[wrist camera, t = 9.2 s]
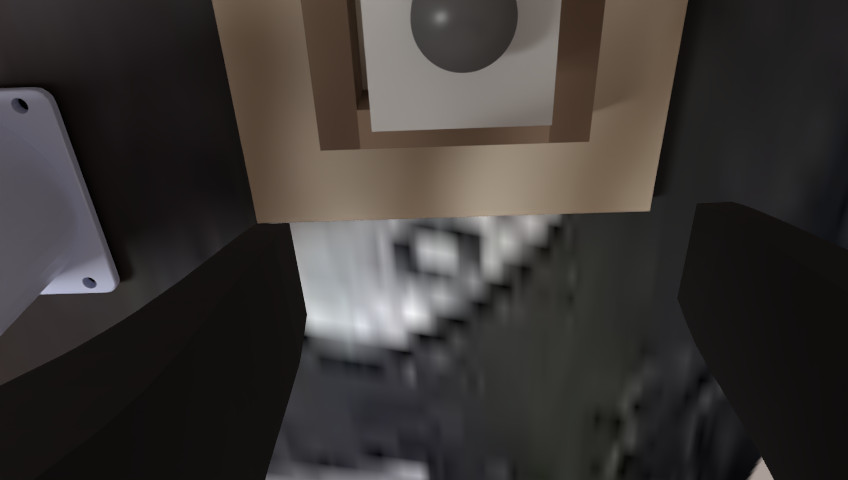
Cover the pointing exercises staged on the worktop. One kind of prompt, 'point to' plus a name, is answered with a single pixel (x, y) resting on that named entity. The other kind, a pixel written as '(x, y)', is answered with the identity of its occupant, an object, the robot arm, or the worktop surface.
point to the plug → (460, 63)
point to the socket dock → (445, 148)
